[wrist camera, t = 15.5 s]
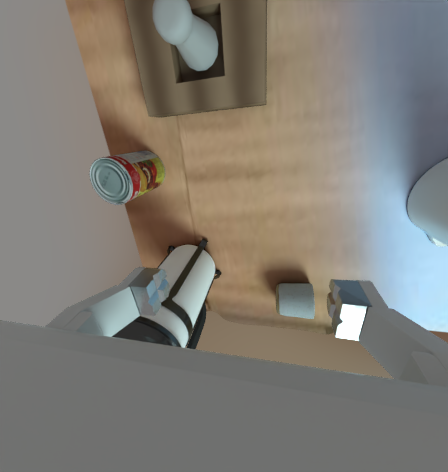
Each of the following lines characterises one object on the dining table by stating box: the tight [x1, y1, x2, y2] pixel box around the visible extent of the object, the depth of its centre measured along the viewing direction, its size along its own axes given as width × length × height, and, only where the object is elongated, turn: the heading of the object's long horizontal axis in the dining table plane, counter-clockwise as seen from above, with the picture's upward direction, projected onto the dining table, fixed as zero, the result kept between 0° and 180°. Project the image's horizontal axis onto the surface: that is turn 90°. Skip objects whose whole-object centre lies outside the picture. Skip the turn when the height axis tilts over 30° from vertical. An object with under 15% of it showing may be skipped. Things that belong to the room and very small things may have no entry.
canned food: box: [90, 151, 165, 205], centre depth 40 cm, size 8×8×12 cm
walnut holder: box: [124, 0, 267, 117], centre depth 32 cm, size 20×16×4 cm
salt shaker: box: [153, 0, 218, 71], centre depth 27 cm, size 6×6×13 cm
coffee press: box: [112, 239, 221, 349], centre depth 41 cm, size 17×16×30 cm
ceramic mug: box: [276, 283, 315, 319], centre depth 49 cm, size 11×8×8 cm
